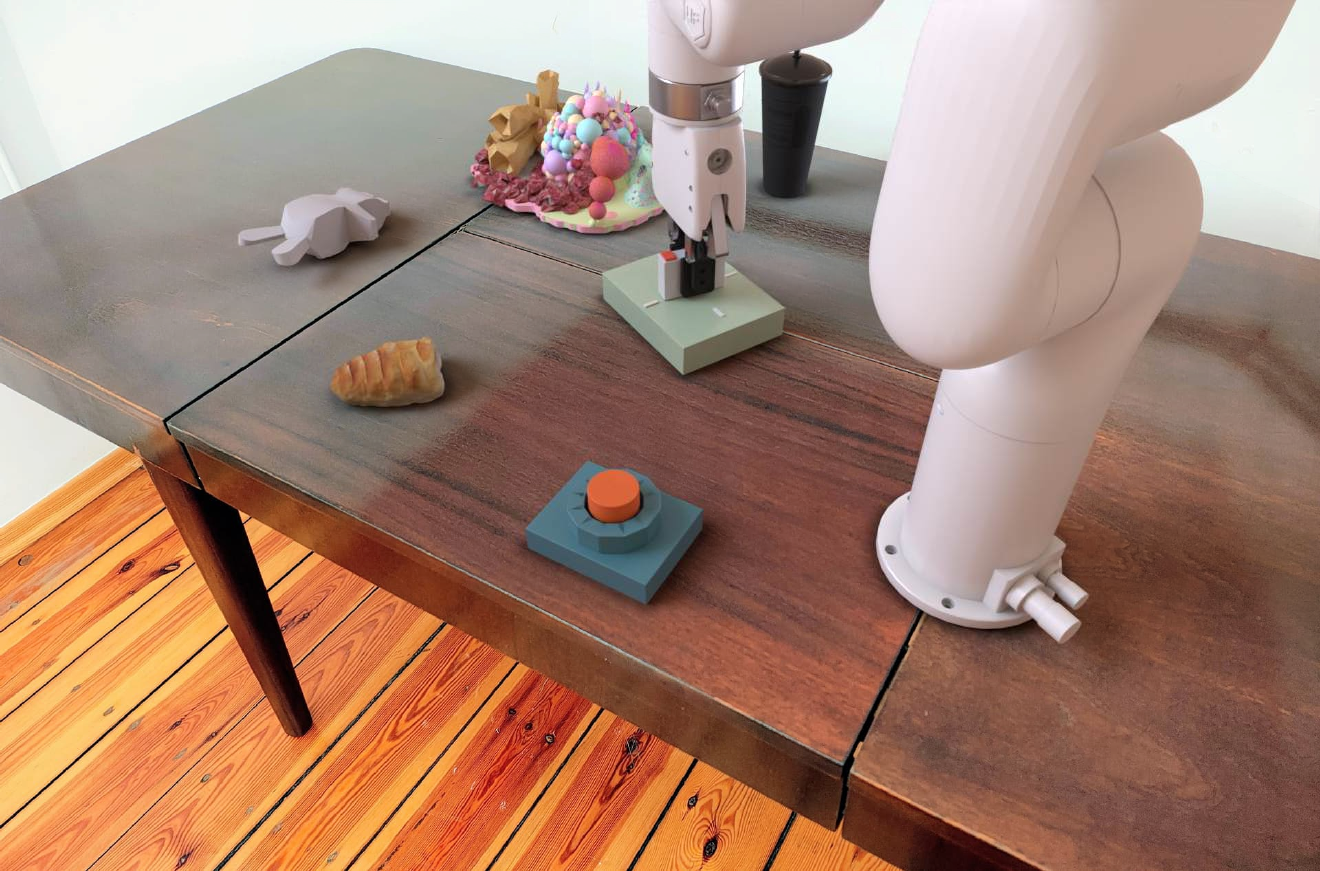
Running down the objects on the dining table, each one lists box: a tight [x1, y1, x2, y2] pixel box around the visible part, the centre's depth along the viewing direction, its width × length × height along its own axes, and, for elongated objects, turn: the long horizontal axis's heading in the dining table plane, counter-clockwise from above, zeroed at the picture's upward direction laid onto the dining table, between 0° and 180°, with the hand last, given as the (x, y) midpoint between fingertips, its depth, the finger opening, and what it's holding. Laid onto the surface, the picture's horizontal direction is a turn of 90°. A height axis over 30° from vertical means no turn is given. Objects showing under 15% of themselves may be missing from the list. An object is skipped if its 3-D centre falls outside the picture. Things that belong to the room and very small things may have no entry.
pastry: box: [330, 336, 445, 408], centre depth 79 cm, size 9×7×4 cm
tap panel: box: [601, 248, 786, 376], centre depth 87 cm, size 14×11×3 cm
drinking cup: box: [758, 49, 834, 199], centre depth 100 cm, size 8×8×20 cm
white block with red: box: [658, 249, 726, 300], centre depth 85 cm, size 6×2×4 cm, turn 112°
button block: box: [525, 460, 704, 605], centre depth 66 cm, size 10×8×4 cm
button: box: [587, 470, 640, 524], centre depth 65 cm, size 4×4×2 cm
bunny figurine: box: [237, 186, 391, 267], centre depth 96 cm, size 10×5×15 cm
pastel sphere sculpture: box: [470, 69, 665, 234], centre depth 105 cm, size 25×24×9 cm
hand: (691, 285), depth 86 cm, fingers closed on white block with red
